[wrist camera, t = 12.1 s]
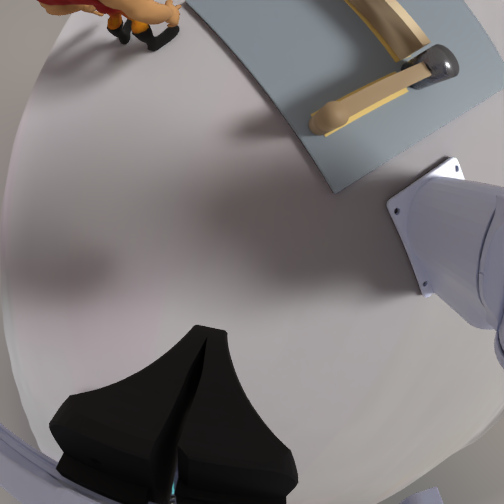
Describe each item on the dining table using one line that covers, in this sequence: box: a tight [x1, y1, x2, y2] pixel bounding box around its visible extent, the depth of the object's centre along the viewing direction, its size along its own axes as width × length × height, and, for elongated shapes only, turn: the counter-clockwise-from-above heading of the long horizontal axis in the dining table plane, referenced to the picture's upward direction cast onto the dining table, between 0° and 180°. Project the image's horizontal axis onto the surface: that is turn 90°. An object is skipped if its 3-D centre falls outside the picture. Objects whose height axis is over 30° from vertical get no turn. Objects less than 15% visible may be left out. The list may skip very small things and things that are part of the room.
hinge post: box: [401, 44, 459, 90], centre depth 12 cm, size 2×2×4 cm
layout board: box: [185, 0, 504, 194], centre depth 13 cm, size 19×26×1 cm
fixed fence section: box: [308, 62, 432, 136], centre depth 13 cm, size 1×9×4 cm, turn 124°
